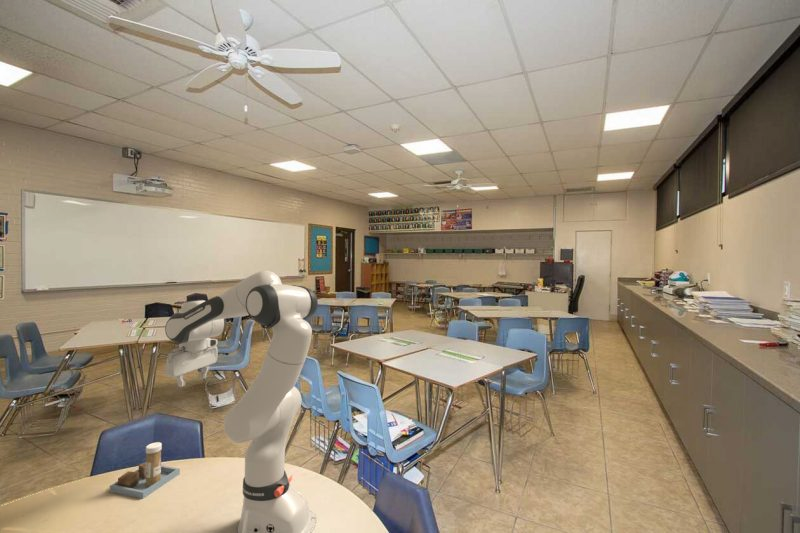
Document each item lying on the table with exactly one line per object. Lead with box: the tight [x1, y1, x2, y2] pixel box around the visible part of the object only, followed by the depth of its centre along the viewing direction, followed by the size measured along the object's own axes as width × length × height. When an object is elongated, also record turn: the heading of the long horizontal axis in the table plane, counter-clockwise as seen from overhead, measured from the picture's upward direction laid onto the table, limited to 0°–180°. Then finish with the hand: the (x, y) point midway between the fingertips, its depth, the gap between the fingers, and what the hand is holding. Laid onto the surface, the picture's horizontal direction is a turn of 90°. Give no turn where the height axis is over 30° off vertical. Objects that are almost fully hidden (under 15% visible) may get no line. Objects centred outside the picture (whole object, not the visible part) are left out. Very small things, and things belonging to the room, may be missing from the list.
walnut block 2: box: [138, 461, 146, 480], centre depth 125 cm, size 4×4×4 cm
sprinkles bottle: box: [145, 441, 163, 487], centre depth 121 cm, size 5×5×14 cm
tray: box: [109, 464, 181, 499], centre depth 121 cm, size 14×14×2 cm
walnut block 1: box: [117, 470, 139, 488], centre depth 119 cm, size 4×4×4 cm
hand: (192, 382), depth 127 cm, fingers open, 8 cm apart
